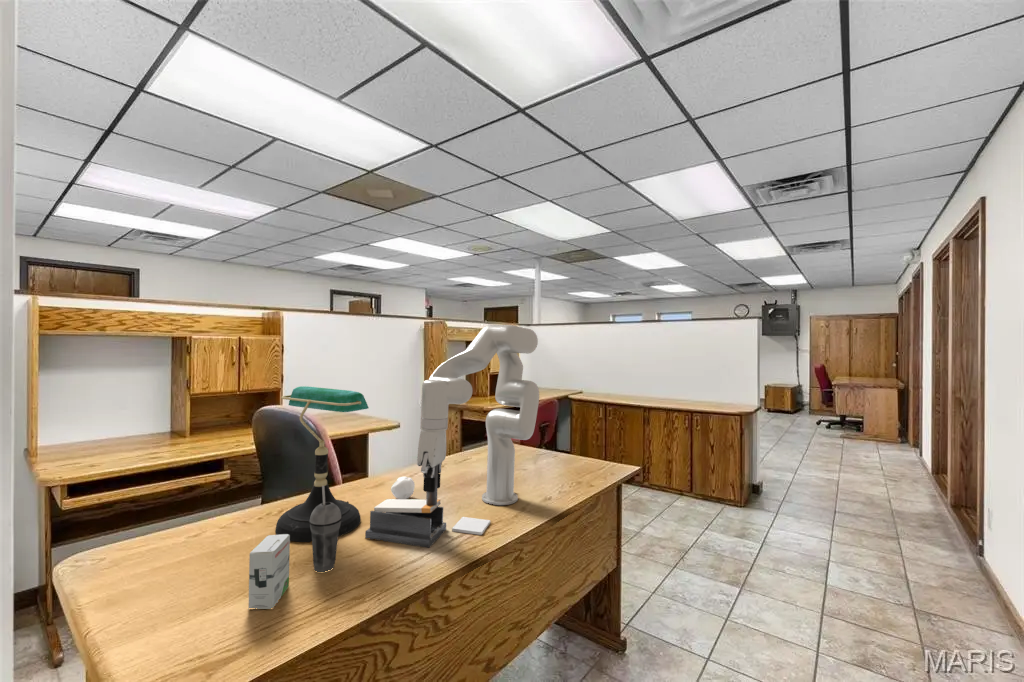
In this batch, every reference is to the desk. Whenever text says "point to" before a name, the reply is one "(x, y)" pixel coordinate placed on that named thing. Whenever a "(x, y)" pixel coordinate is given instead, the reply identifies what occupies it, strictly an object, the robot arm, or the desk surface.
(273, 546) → the ink box
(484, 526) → the mat
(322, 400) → the banker's lamp
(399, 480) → the white lumpy ball
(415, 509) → the tilting box lid
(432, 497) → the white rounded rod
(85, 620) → the desk surface
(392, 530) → the tilting lid box
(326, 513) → the beverage cup
